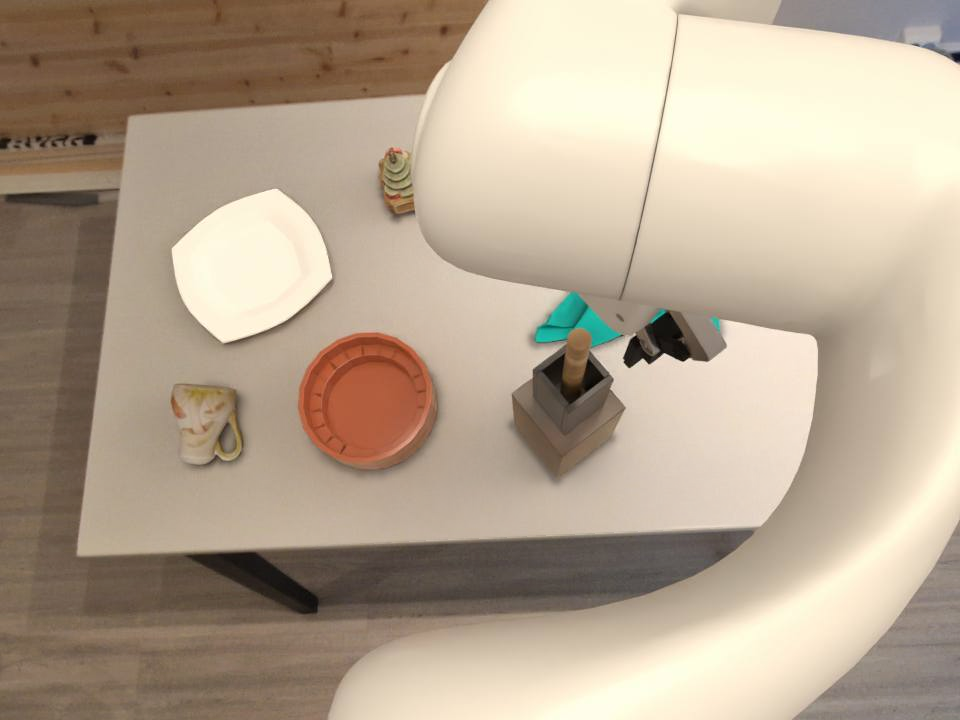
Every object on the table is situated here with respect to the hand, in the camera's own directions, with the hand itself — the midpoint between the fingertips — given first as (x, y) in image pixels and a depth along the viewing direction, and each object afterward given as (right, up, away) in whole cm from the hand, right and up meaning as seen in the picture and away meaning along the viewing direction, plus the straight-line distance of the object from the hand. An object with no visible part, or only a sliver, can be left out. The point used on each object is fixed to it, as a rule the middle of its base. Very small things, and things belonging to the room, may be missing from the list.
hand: (594, 296), depth 46 cm
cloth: (+12, +4, +41) cm, 43 cm away
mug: (-40, -12, +40) cm, 58 cm away
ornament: (-17, +18, +48) cm, 54 cm away
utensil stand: (+2, -12, +36) cm, 39 cm away
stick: (+1, -8, +23) cm, 25 cm away
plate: (-37, +8, +46) cm, 59 cm away
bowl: (-20, -10, +39) cm, 45 cm away
